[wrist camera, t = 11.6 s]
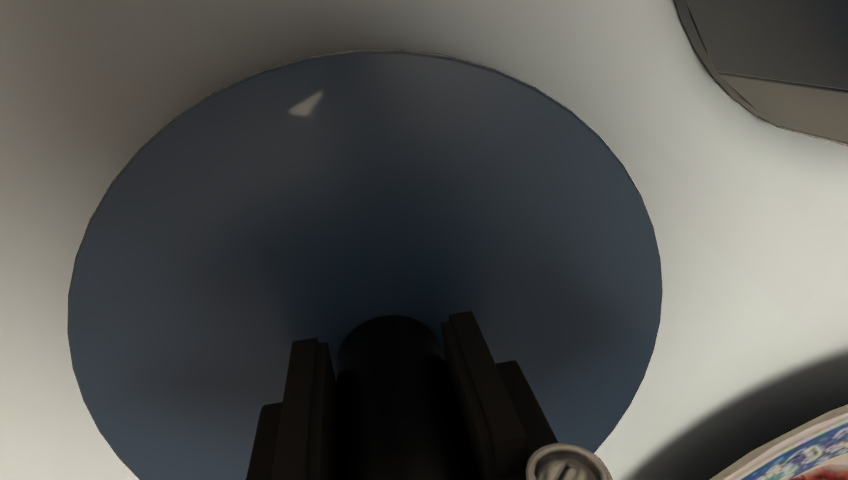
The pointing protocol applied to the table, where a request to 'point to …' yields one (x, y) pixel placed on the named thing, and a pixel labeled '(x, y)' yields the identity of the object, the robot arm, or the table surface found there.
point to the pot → (778, 59)
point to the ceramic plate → (799, 453)
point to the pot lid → (360, 266)
